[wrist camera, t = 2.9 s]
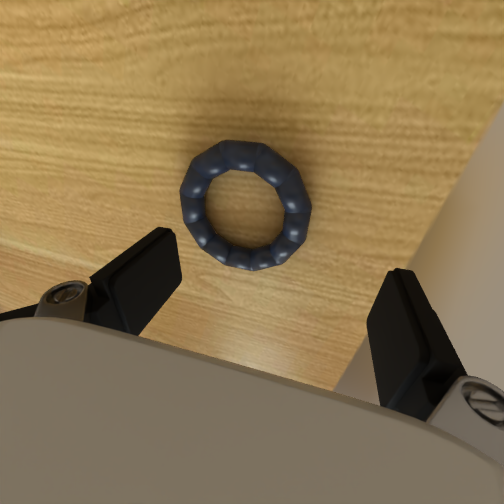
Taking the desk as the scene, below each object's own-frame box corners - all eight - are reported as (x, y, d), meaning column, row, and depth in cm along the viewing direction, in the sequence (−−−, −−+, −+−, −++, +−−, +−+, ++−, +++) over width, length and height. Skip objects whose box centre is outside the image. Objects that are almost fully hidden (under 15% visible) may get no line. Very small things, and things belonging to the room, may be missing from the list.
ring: (323, 146, 13) (322, 151, 12) (299, 271, 18) (297, 285, 17) (181, 133, 15) (166, 136, 14) (194, 250, 20) (184, 261, 18)
